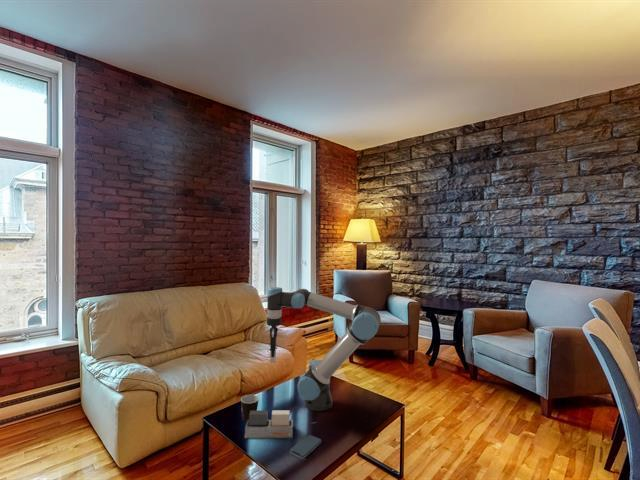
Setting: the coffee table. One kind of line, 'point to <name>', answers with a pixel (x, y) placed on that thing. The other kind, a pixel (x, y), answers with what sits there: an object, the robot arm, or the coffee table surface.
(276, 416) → the beige rectangular block
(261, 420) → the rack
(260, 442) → the coffee table surface
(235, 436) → the coffee table surface
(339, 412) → the coffee table surface
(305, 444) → the smartphone
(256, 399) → the coffee mug
